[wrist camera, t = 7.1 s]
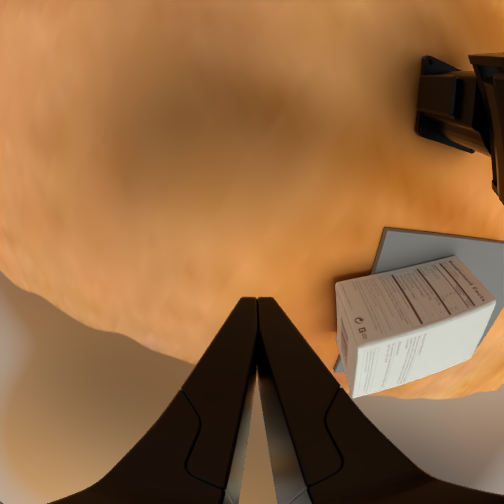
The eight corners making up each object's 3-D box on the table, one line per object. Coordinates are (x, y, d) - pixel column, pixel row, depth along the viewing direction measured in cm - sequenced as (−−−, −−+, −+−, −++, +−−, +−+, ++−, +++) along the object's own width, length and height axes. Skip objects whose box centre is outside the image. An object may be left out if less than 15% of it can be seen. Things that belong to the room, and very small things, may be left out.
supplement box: (334, 338, 26) (442, 311, 25) (350, 401, 20) (472, 360, 18) (333, 278, 23) (455, 252, 21) (357, 346, 16) (499, 300, 15)
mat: (528, 245, 22) (531, 248, 21) (472, 349, 31) (474, 351, 30) (384, 227, 21) (387, 230, 20) (333, 368, 30) (334, 372, 29)
